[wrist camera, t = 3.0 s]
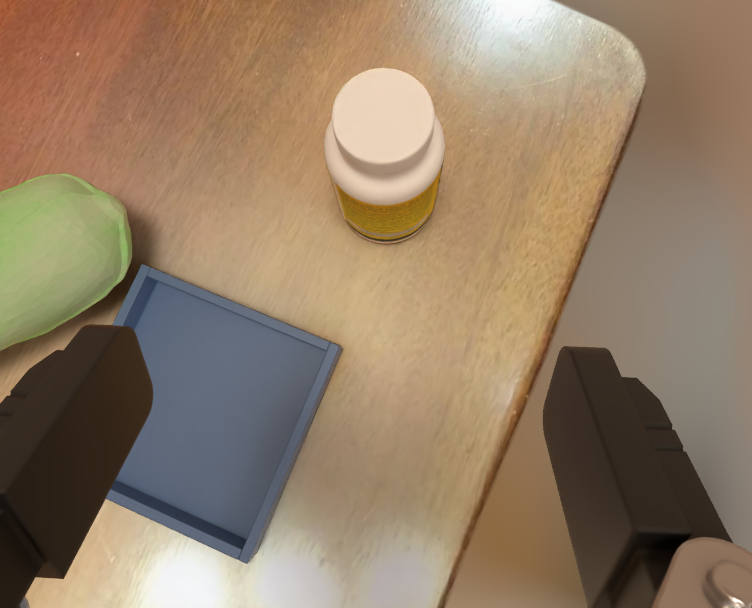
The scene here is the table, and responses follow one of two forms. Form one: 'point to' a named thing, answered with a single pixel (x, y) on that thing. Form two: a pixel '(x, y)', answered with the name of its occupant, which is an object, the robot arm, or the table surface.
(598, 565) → the robot arm
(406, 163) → the pill bottle
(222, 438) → the slate-blue tray
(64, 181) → the corn
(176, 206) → the table surface
